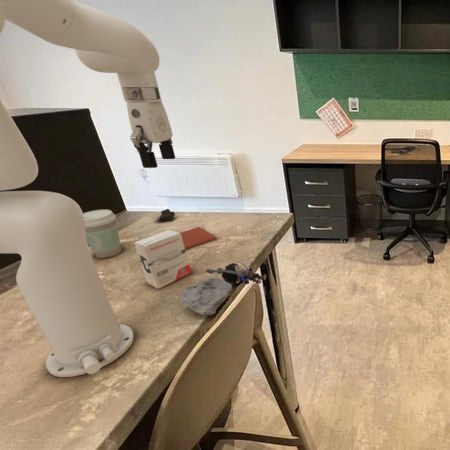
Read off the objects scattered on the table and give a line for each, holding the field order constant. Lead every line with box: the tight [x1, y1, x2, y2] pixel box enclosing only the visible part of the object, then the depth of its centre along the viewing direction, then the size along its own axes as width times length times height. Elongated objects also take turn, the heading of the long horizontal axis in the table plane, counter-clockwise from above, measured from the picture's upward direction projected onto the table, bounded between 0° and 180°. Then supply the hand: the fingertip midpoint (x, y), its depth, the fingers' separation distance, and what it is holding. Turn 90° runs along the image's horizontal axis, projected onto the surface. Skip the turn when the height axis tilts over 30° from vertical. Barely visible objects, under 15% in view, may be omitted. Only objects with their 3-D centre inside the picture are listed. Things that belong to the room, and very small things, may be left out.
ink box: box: [133, 229, 192, 289], centre depth 85 cm, size 8×5×12 cm, turn 152°
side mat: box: [179, 226, 217, 251], centre depth 107 cm, size 12×10×1 cm
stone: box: [180, 276, 233, 316], centre depth 76 cm, size 9×7×10 cm
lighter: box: [156, 208, 176, 223], centre depth 121 cm, size 8×2×5 cm
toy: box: [205, 260, 267, 285], centre depth 85 cm, size 6×6×15 cm
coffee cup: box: [82, 209, 123, 259], centre depth 95 cm, size 8×8×12 cm
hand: (160, 163), depth 92 cm, fingers open, 9 cm apart
